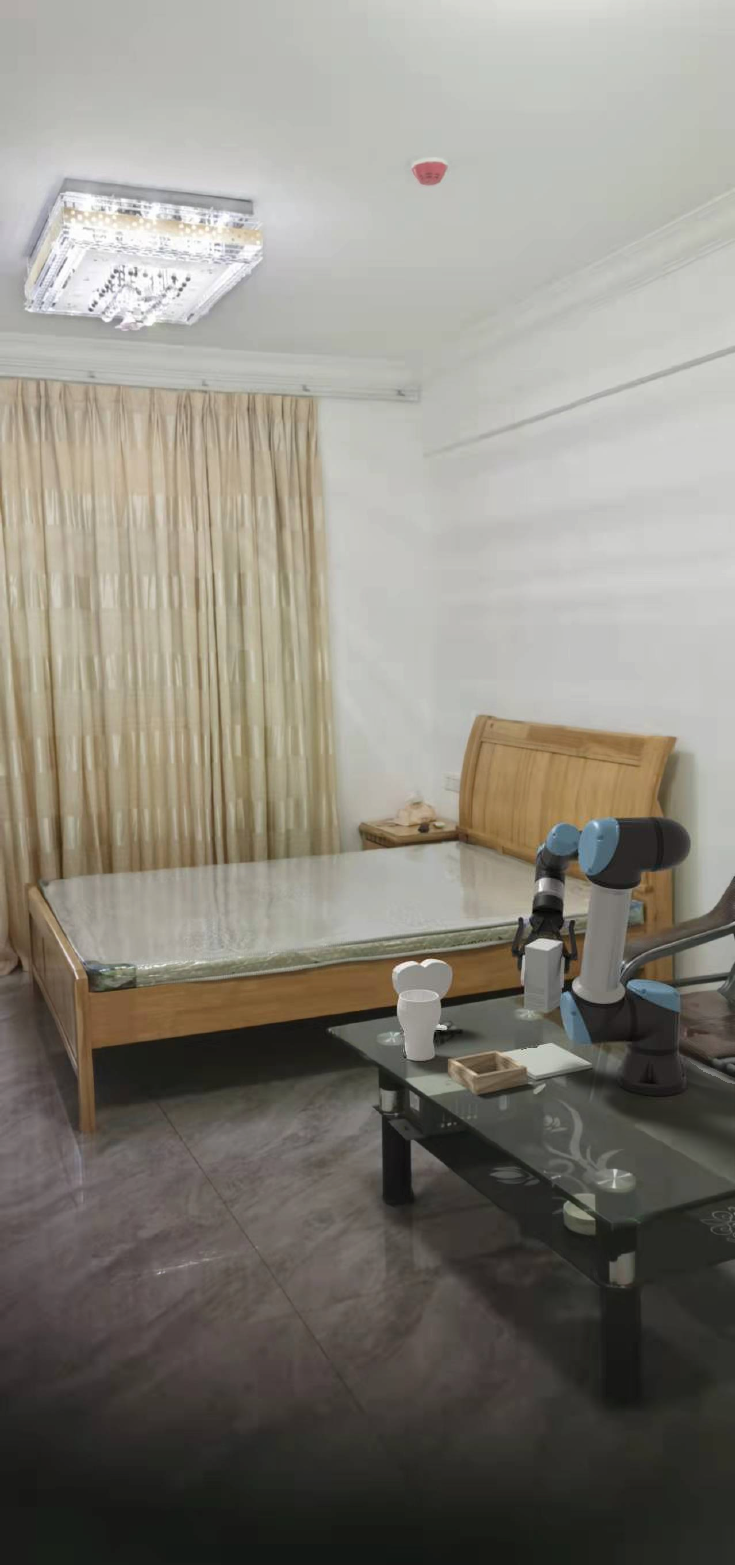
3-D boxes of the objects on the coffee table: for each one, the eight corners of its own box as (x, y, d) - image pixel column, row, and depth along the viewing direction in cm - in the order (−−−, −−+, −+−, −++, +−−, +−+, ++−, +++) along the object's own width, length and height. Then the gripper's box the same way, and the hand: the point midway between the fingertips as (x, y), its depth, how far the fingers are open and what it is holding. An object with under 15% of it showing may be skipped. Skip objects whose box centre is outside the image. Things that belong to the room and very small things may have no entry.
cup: (437, 1064, 278) (437, 1003, 276) (393, 1061, 280) (393, 1001, 278) (443, 1049, 288) (443, 990, 287) (401, 1046, 291) (401, 987, 289)
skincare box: (539, 1000, 283) (539, 937, 281) (564, 1004, 279) (564, 941, 277) (522, 1009, 276) (523, 945, 274) (548, 1014, 272) (548, 949, 270)
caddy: (526, 1084, 266) (526, 1067, 266) (476, 1094, 260) (476, 1077, 260) (496, 1066, 277) (496, 1050, 276) (447, 1076, 271) (447, 1059, 270)
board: (591, 1067, 276) (591, 1063, 276) (535, 1079, 269) (535, 1075, 268) (551, 1046, 290) (551, 1042, 290) (497, 1057, 283) (497, 1053, 283)
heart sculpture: (445, 1022, 308) (445, 956, 306) (453, 1028, 303) (454, 961, 301) (390, 1030, 303) (390, 962, 300) (398, 1036, 298) (398, 967, 296)
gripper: (592, 911, 287) (588, 994, 274) (506, 907, 292) (498, 988, 278) (592, 894, 281) (587, 978, 268) (504, 890, 286) (495, 973, 273)
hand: (542, 983), depth 273 cm, fingers closed on skincare box, 8 cm apart
